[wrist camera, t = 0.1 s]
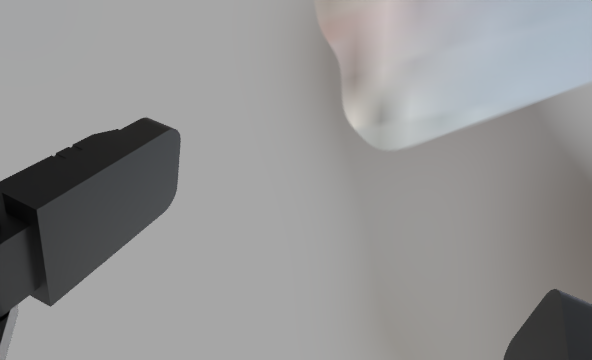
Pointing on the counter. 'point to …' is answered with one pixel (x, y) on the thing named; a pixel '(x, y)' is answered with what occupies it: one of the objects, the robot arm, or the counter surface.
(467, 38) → the counter surface
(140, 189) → the robot arm
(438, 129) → the counter surface
